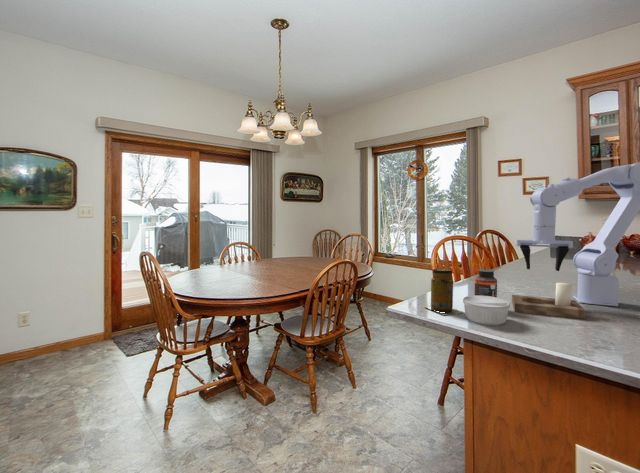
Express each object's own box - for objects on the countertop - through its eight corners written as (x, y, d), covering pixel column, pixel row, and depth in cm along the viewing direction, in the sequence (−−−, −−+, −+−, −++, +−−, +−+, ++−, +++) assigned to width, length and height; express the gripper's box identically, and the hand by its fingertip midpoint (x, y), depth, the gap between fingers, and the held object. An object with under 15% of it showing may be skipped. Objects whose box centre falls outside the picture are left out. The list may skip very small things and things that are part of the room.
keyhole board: (574, 308, 96) (574, 300, 96) (584, 319, 86) (585, 310, 86) (511, 302, 103) (511, 294, 103) (514, 311, 93) (514, 303, 93)
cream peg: (569, 310, 94) (570, 283, 93) (571, 314, 90) (572, 285, 90) (553, 309, 95) (555, 282, 95) (555, 312, 92) (556, 284, 92)
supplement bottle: (499, 311, 94) (500, 272, 93) (477, 310, 95) (478, 271, 94) (492, 305, 100) (493, 268, 99) (471, 304, 101) (472, 268, 100)
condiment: (443, 305, 100) (443, 266, 100) (464, 313, 93) (464, 271, 92) (423, 308, 98) (424, 268, 97) (443, 316, 90) (443, 273, 89)
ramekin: (488, 329, 79) (489, 308, 79) (453, 316, 90) (453, 297, 89) (519, 323, 84) (520, 303, 84) (482, 311, 94) (483, 293, 94)
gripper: (518, 226, 102) (517, 270, 103) (576, 227, 95) (574, 273, 96) (516, 226, 108) (515, 266, 109) (570, 226, 102) (568, 269, 102)
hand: (542, 269), depth 103 cm, fingers open, 7 cm apart
